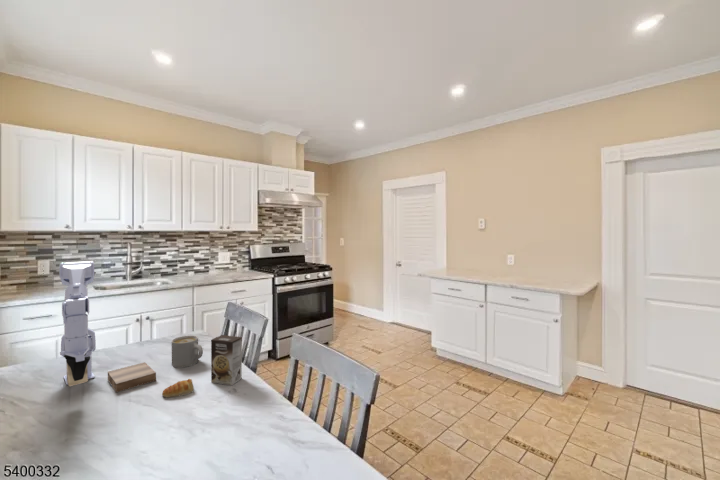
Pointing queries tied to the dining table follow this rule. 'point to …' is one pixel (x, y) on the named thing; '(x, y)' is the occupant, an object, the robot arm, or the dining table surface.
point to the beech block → (71, 380)
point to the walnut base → (131, 376)
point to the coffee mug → (185, 351)
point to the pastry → (179, 389)
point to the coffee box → (226, 359)
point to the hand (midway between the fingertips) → (77, 377)
